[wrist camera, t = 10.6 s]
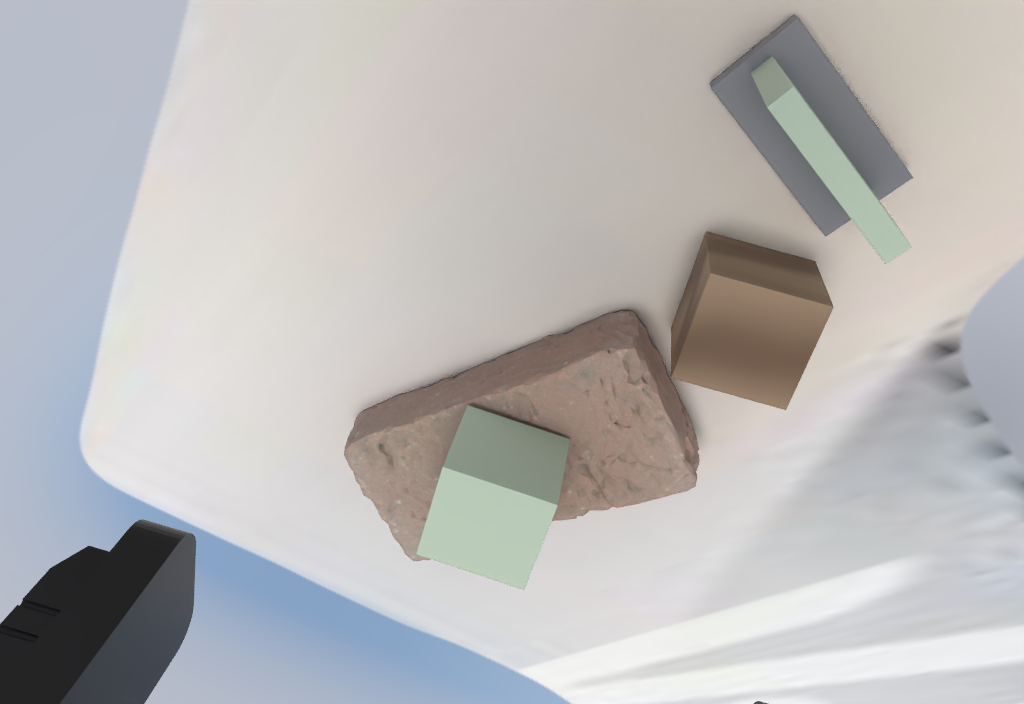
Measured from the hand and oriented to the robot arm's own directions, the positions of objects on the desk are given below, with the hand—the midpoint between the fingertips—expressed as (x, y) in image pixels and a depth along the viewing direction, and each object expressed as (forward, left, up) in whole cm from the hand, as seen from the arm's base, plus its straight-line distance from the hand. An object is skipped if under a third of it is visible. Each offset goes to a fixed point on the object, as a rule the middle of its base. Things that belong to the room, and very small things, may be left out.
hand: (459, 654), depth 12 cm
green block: (+15, 0, -25) cm, 29 cm away
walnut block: (+5, +8, -29) cm, 30 cm away
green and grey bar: (-3, +8, -29) cm, 30 cm away
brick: (+15, 0, -30) cm, 33 cm away
